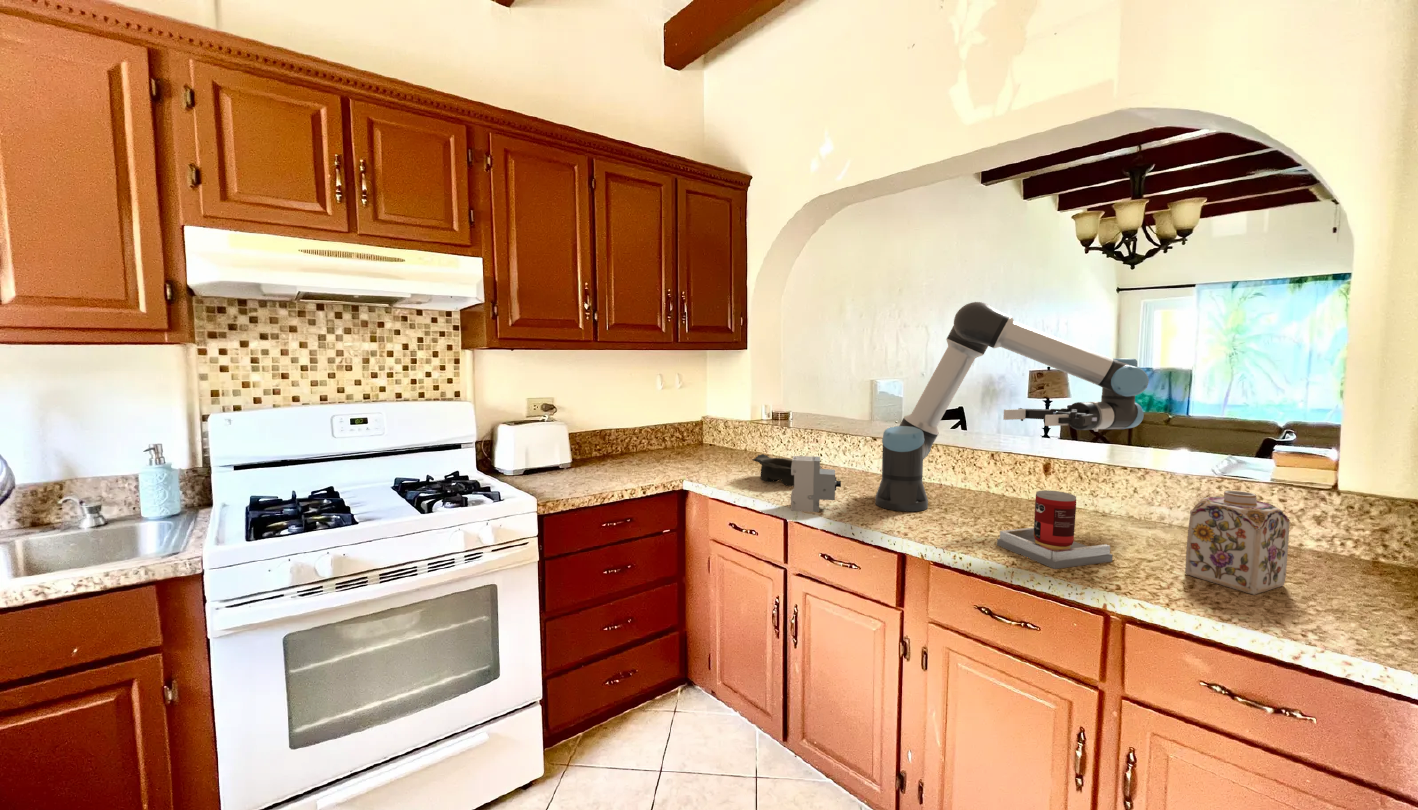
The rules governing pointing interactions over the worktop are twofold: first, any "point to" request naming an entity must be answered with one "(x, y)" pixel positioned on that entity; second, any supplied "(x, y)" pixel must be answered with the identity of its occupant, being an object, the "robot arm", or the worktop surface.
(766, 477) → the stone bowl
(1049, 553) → the switch base
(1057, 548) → the button
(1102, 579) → the worktop surface
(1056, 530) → the canned food
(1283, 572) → the decorative jar
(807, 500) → the circuit breaker
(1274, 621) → the worktop surface
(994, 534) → the worktop surface
